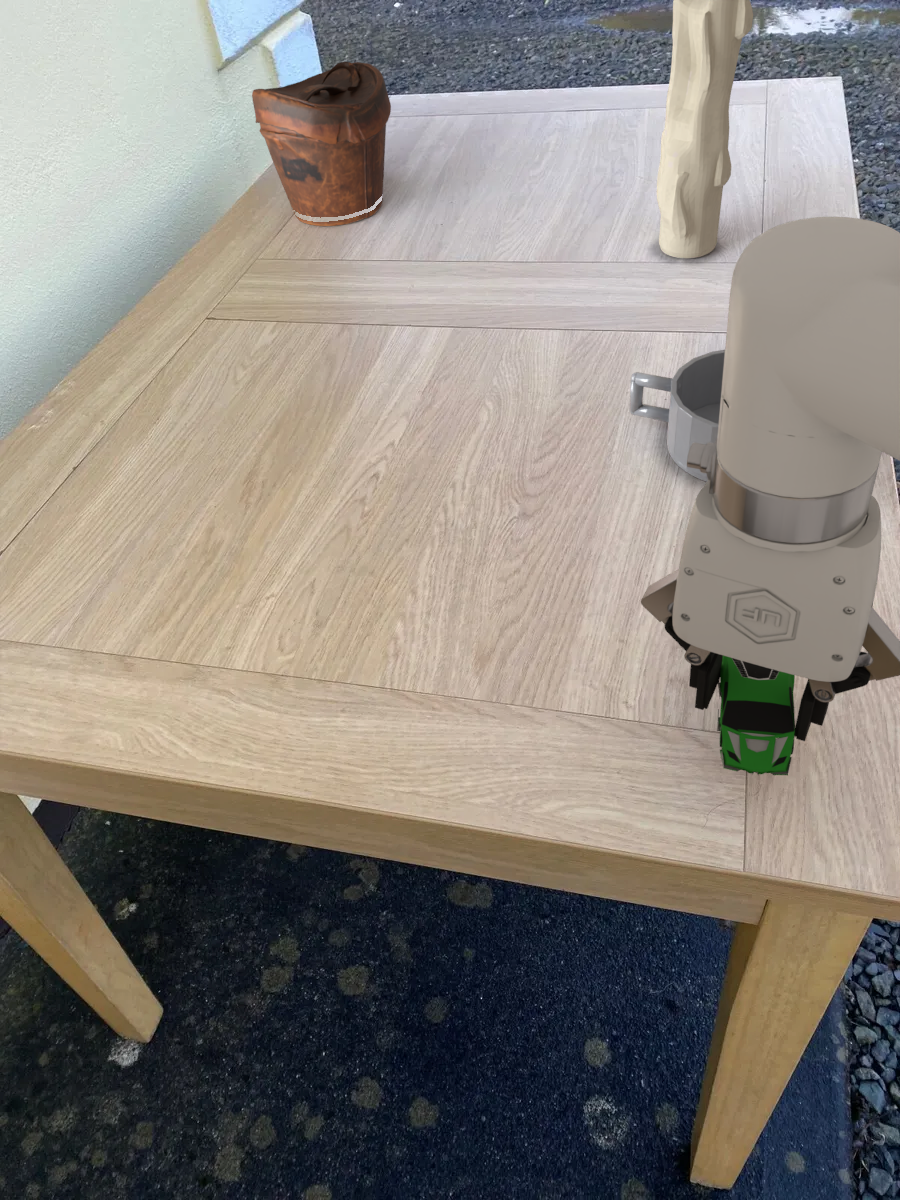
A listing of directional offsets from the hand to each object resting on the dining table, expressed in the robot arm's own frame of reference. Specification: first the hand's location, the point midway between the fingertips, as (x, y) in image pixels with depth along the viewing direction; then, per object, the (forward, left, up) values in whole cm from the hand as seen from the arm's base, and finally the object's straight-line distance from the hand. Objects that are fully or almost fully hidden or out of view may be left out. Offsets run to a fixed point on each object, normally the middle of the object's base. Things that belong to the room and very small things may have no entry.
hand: (755, 706), depth 58 cm
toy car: (0, 0, -1) cm, 1 cm away
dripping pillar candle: (+27, -68, -4) cm, 73 cm away
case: (+77, -68, -4) cm, 103 cm away
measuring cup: (+12, -32, -4) cm, 35 cm away
